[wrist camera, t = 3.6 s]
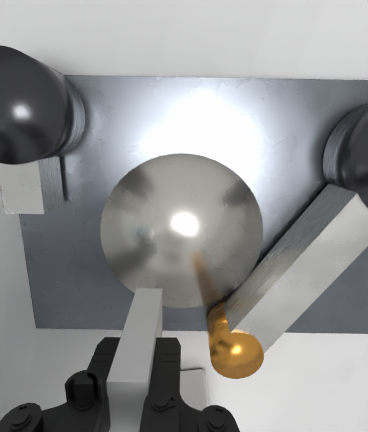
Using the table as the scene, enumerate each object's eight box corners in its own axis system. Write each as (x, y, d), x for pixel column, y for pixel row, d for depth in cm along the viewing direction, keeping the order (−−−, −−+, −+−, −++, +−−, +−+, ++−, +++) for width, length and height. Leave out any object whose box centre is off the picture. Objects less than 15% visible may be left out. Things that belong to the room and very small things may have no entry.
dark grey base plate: (49, 310, 21) (33, 331, 19) (19, 81, 17) (-6, 72, 15) (390, 316, 21) (414, 337, 19) (447, 88, 17) (487, 81, 15)
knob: (-13, 63, 15) (-65, 43, 12) (81, 65, 15) (54, 45, 12) (8, 201, 17) (-31, 214, 14) (91, 202, 17) (70, 216, 14)
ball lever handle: (378, 75, 15) (428, 59, 12) (452, 144, 16) (518, 146, 13) (179, 314, 19) (178, 349, 16) (248, 358, 20) (260, 398, 17)
